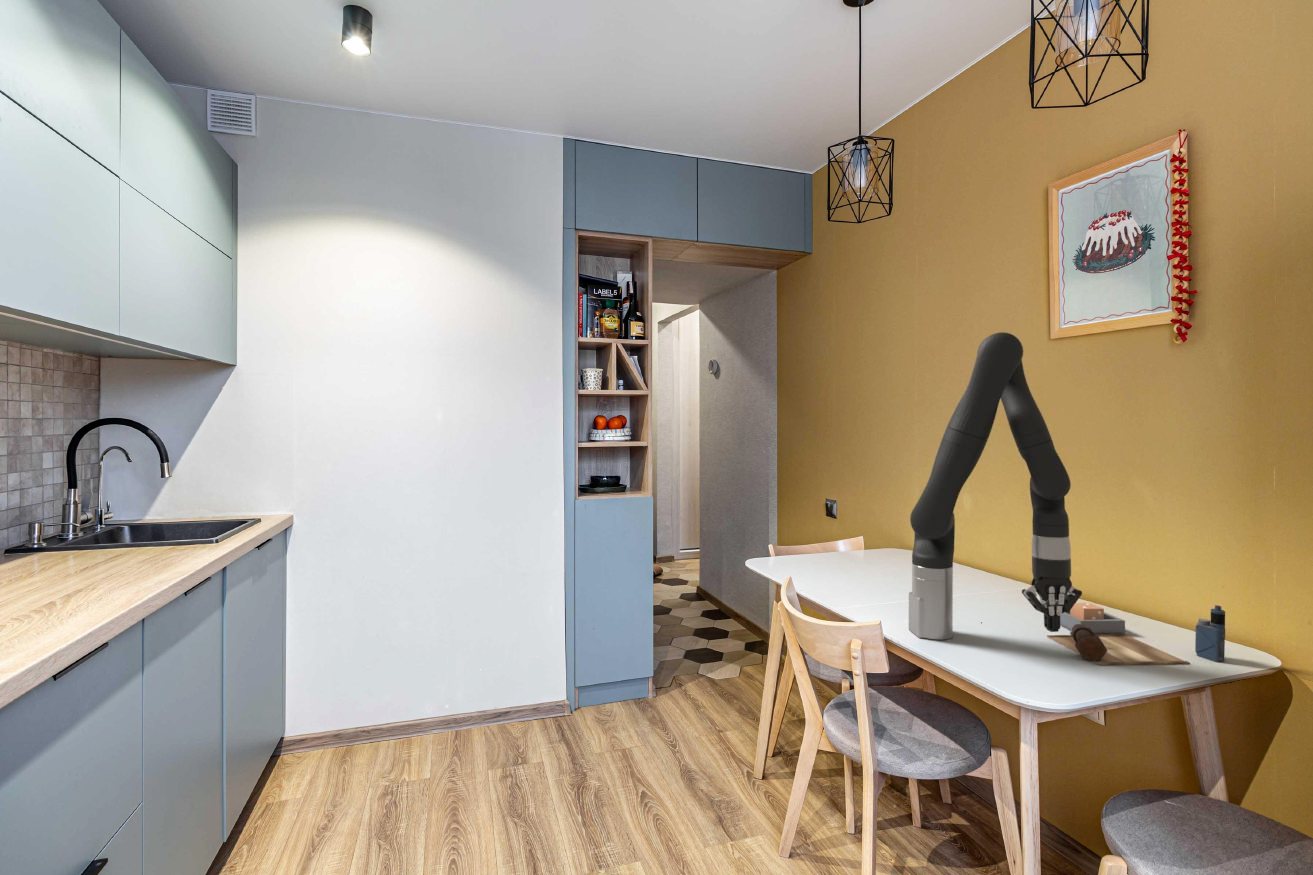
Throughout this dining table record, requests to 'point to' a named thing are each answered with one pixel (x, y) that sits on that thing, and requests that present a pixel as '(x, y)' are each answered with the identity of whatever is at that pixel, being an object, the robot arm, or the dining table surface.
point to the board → (1124, 651)
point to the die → (1087, 611)
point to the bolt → (1088, 643)
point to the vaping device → (1211, 636)
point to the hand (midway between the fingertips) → (1052, 630)
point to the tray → (1095, 624)
